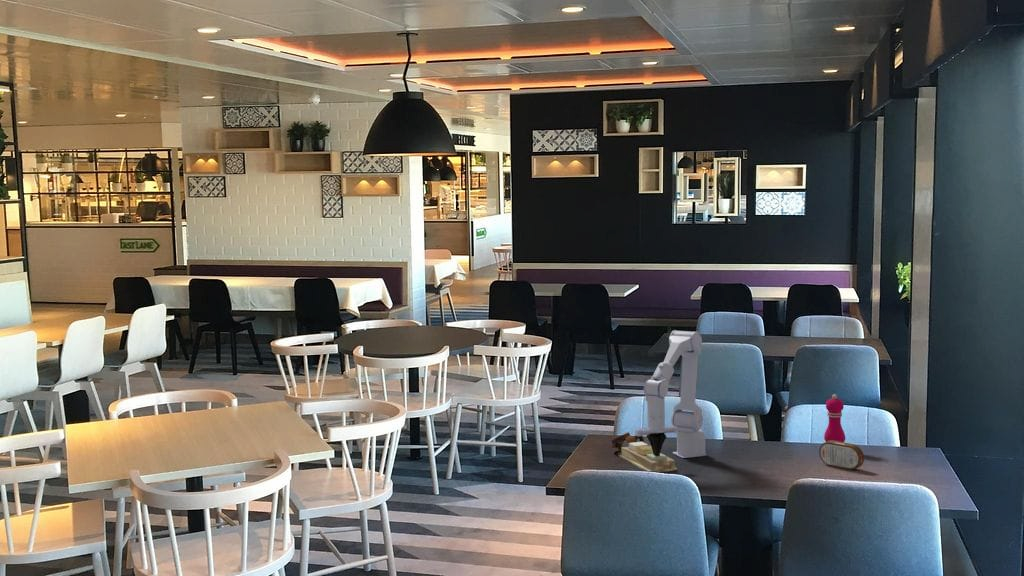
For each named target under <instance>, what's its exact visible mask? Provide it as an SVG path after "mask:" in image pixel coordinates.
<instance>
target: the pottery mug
mask: <svg viewBox="0 0 1024 576" xmlns="http://www.w3.org/2000/svg"><path fill="white" fill-rule="evenodd" d="M638 440H639V442H644V443H645V437H644V435H643V436H636V435H632V434H630V432H625V433H623V434H622V435H619V436H617V437H616V438H613V439H612V440H611V441H610V442H611V444H612V445H611V448H613V449H614V448H616V449H618V450H619V451H621V447H624V446H623V444H624V442H625V441H626V442H627V443H628V444H629V443H634V442H638Z"/></svg>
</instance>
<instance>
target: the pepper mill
mask: <svg viewBox="0 0 1024 576" xmlns="http://www.w3.org/2000/svg"><path fill="white" fill-rule="evenodd" d="M825 408H826V410H827V414H826V415H827V417H828V424H827V426H826V429H825V431H824V434H823V439H824V441H825V442H827V441H829V440H833V441H839V442H844V443H845V441H846V435H845V431H844V429H843V427H842V424H841V423H842V421H841V420H842V418H841V417H843V415H842V414H843V412H842V411H843V410H844V402H843V401H842V400H841V399H839V398H838V394H836V393H834V394H832V396H831V398H829V399H828V400H827V401H826V403H825Z"/></svg>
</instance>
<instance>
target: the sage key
mask: <svg viewBox="0 0 1024 576" xmlns="http://www.w3.org/2000/svg"><path fill="white" fill-rule="evenodd" d="M667 457H668V456H667V455H665V454H664V453H661V452H660V456H655V455H653V454H647V458H648V459H650V460H652V461H657V460H666V459H667Z"/></svg>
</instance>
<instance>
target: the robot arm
mask: <svg viewBox="0 0 1024 576" xmlns="http://www.w3.org/2000/svg"><path fill="white" fill-rule="evenodd" d="M702 343H703V338H702V336H701V334H700V332H699V331H690V330H689V331H688V330H687V331H686V330H676V329H674V330H672V331H671V333H670V335H669V337H668V344H669V347H668V350H667V352H666V354H665V355H666V356H665V357H664V360H663V361H662V362H659V363H658V364H657V366H656V369H655V370H654V373H653V374H652V376H651V378H649V379H648V380H646V381H645V383H644V386H643V393H644V396H645V401H646V403H647V404H646V407H647V409H646V411H647V414H646V415H647V427H643V428H638V429H635V430H634V432H635V433H634V434H635V435H636V436H643V437H644V436H646V438H647V440H648V442H649V445H651V447H652V450H653V455H655V456H660V453H661V450H662V448H663V445H664V442H665V440H666V439H667V434H670V433H671V434H672V433H674V434H676V451H672V454H673V455H675V456H677V457H679V458H681V459H685V458H696V457H706V456H707V454H706V435H705V432H704V431H703V430H702V426H703V423H704V418H703V410H702V408H701V407H700V406H699V405H698V404H697V403H696V394H697V393H696V391H697V378H698V377H697V376H698V361H699V360H698V359H699V356H700V355H701V354H702ZM680 356H681V357H682V358H683V359H682V372H681V386H680V387H681V388H680V401H679V402H678V403H677V404H676V405H674V407H673V410H672V414H671V418H670V419H671V425H668V426H667V425H666V421H665V420H666V419H665V418H666V415H665V413H666V412H665V411H666V410H665V409H666V408H665V401H666V400H665V397H667V395H668V392H669V387H670V380H671V379H672V376H673V374H674V373H675V369H674V366H675V364H676V362H677V361H678V360H679V358H680ZM635 435H634V436H635Z"/></svg>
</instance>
